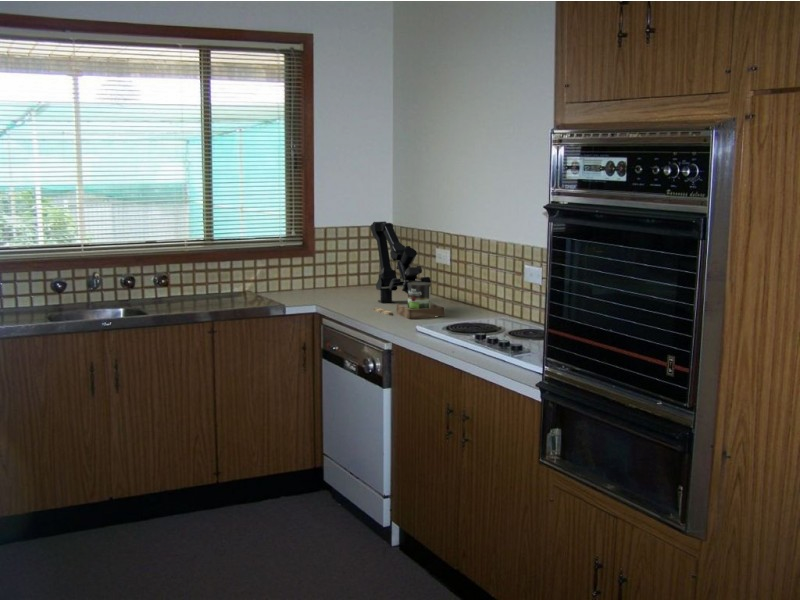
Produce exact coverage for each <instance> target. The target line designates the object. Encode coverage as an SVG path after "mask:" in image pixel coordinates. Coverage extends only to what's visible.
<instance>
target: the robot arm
mask: <svg viewBox="0 0 800 600" xmlns="http://www.w3.org/2000/svg"><path fill="white" fill-rule="evenodd" d="M370 231H371V233H372V234H371V235H372V237H373V238H374V239H375V240H376V243H377V244H376V246H377V251H378V257H379V258H378V259H379V264H380V265H379V266H380V272H379V273H378V280H377V282H376V283H375V287H376V288H375V289H376V290H378V291H379V294H380V295H379V297H380V299H379V300H378V299H377V302H379V303H382V304H389V303H390V304H391V303H396V302H395V300H393V291H397V290H398V287H402V289H401V291H402V292H404V293H406V294H407V295H408V283H409V282H417V281H420V282H429V283H431V284H432V278H431V277H430V276H421V277H420V279H418V275H420V274H422V273H423V269H422V266H421V265H417V266H411V265H412V264H413V262H414V261H415V260H416V257H417V254H418V252H417V250H415V249H414V248H413V247H411V246H410V245H404V244H402V243H401V242H400V240H399V238H398V236H397V234H396V231H395V229H394V223H392V222H387V221H373V222H372V223H371V224H370ZM388 245H389V247H390V253H389V247H388ZM390 258H391V259H390ZM391 260H392V261H393V262H397V263H396V270H398V272H399V274H400V276H399V277H397V272H396V270H395V269H393V268H392V266H391ZM417 279H418V280H417Z"/></svg>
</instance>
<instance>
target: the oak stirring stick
mask: <svg viewBox="0 0 800 600" xmlns="http://www.w3.org/2000/svg"><path fill="white" fill-rule="evenodd" d="M372 309H373V310H374V311H373V310H372V311H373V312H376V311H377V313H379V312H380V313H381V314H383V313H384V314H383V315H386V314H387V316H393V315H394V312H393V311H390V310H387V309H383V308H380V307H372Z"/></svg>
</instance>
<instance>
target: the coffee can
mask: <svg viewBox="0 0 800 600" xmlns="http://www.w3.org/2000/svg"><path fill="white" fill-rule="evenodd" d="M431 285H432V282H431V283H429V282H420V281H417V282H409V283H408V294H407V308H409V309H424V308H430V302H431V294H432V293H431V290H432V289H431Z"/></svg>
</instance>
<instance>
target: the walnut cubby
mask: <svg viewBox="0 0 800 600" xmlns="http://www.w3.org/2000/svg"><path fill="white" fill-rule="evenodd" d="M396 314H397V315H399V316H402V317H403V316H404V317H403V318H405V319H408V320H415V319H417V320H419V319H429V318H428V317H432V318H436V317H435V316H444V317H445V307H443V306H442V305H438V304H437V303H433V302H431V301H430V308H424V309H409V308H408V307H406V306H403V305H401V304H396Z"/></svg>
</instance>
